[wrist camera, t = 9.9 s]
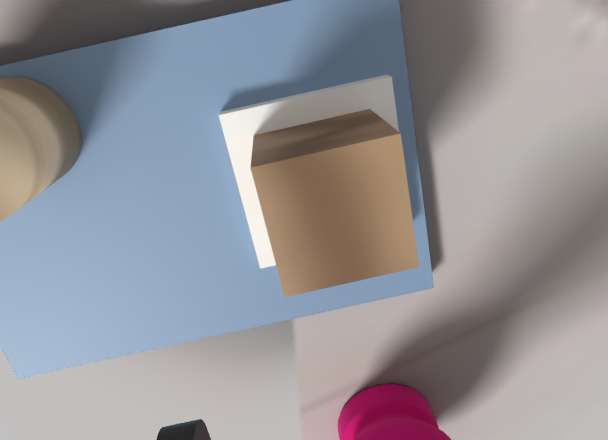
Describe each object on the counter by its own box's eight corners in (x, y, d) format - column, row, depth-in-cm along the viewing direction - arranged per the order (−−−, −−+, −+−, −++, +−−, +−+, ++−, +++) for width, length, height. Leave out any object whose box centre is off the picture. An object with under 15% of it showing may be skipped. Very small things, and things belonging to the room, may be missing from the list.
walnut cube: (369, 108, 23) (400, 133, 18) (387, 217, 25) (419, 267, 20) (253, 135, 23) (250, 167, 18) (280, 241, 25) (284, 297, 20)
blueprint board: (389, -21, 23) (402, -26, 21) (427, 277, 29) (439, 296, 27) (-116, 92, 23) (-153, 99, 21) (27, 365, 29) (9, 391, 27)
